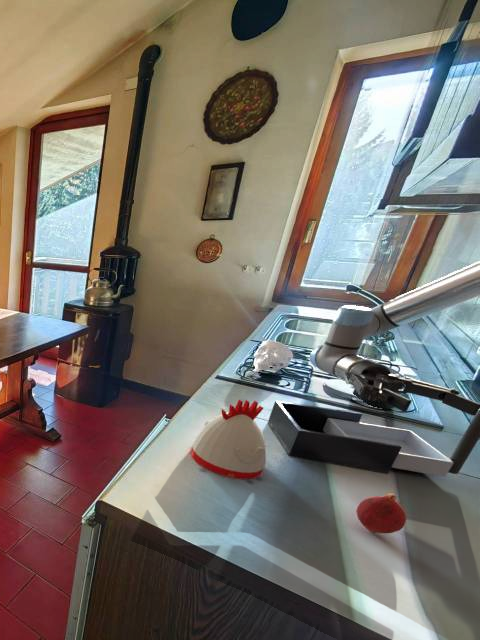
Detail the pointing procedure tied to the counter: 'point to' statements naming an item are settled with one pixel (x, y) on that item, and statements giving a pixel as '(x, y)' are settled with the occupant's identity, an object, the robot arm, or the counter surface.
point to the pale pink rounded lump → (272, 356)
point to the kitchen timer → (232, 443)
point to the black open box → (327, 438)
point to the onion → (381, 514)
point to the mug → (377, 402)
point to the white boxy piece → (411, 445)
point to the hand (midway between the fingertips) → (442, 408)
